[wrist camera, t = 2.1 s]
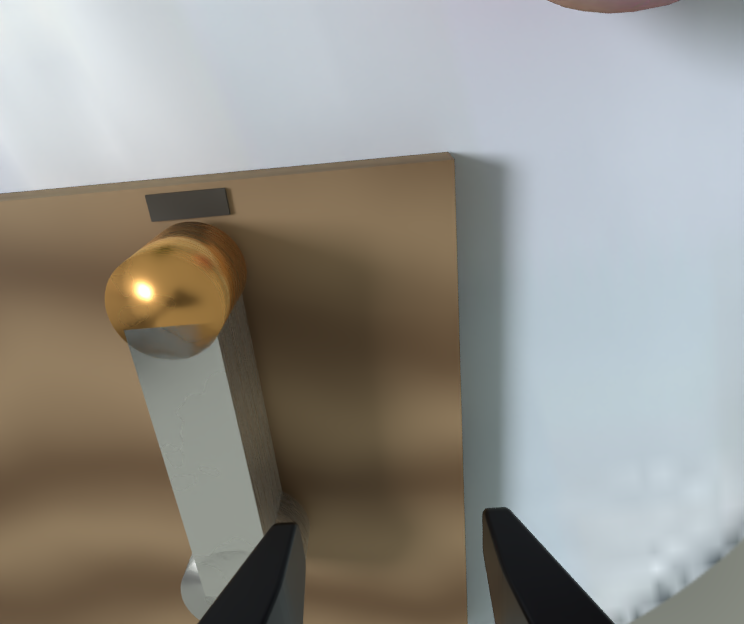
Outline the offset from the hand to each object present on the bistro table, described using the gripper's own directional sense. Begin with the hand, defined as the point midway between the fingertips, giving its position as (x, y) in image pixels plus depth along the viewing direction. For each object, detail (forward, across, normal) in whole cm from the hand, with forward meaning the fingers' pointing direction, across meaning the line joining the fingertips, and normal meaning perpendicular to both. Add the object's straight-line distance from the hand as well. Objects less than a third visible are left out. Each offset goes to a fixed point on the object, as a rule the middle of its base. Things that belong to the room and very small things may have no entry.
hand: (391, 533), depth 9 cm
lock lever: (+9, +6, +4) cm, 11 cm away
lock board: (+11, +8, +6) cm, 15 cm away
